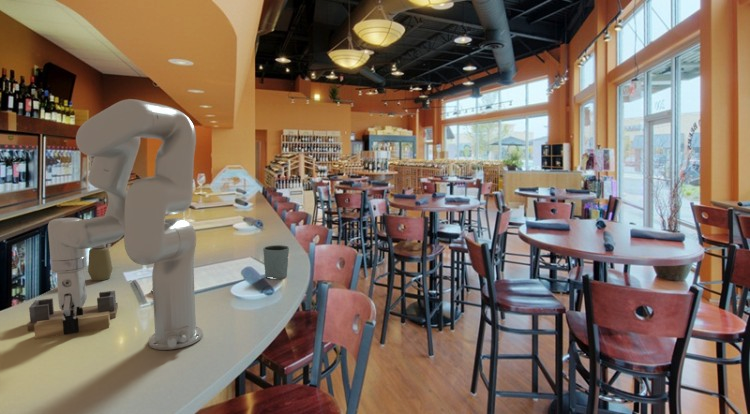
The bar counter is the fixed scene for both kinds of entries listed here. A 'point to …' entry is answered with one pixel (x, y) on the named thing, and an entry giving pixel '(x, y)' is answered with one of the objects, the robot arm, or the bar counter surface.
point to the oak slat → (85, 322)
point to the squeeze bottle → (99, 263)
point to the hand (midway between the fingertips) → (74, 327)
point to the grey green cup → (276, 261)
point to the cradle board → (46, 311)
